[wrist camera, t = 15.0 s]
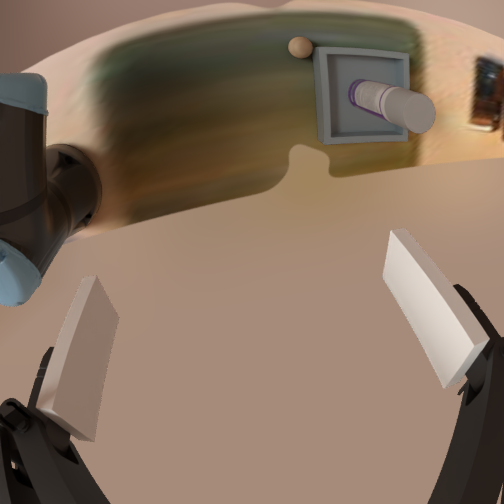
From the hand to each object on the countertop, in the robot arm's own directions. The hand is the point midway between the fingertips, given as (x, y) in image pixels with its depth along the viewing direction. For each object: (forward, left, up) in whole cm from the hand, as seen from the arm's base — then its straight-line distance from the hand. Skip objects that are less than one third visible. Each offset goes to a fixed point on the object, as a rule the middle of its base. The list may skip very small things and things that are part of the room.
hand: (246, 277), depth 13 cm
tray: (+20, +3, -33) cm, 38 cm away
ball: (+11, +10, -33) cm, 36 cm away
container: (+20, +3, -32) cm, 38 cm away
